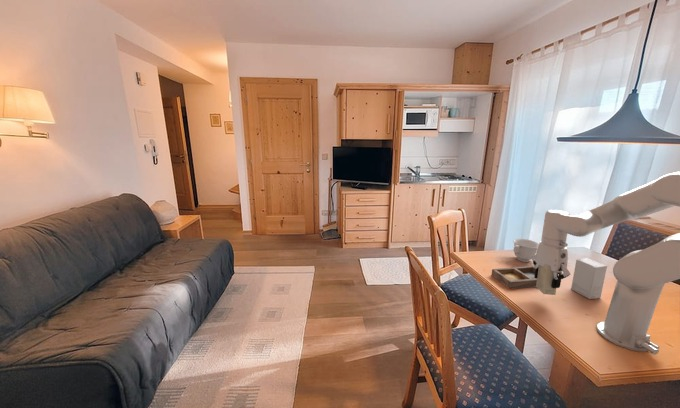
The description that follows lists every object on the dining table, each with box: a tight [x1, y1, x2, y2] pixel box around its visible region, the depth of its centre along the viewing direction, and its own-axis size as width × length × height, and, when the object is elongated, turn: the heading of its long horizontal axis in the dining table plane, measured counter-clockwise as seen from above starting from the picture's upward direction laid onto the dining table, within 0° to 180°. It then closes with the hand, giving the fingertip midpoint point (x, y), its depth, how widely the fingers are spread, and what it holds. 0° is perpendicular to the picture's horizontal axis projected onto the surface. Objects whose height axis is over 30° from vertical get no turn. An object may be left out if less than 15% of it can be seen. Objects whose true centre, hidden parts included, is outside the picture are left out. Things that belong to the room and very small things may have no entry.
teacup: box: [512, 238, 539, 263], centre depth 144 cm, size 12×15×10 cm
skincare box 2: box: [570, 257, 608, 300], centre depth 113 cm, size 8×6×15 cm
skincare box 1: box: [535, 264, 559, 296], centre depth 107 cm, size 6×4×12 cm
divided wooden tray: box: [491, 265, 537, 290], centre depth 126 cm, size 12×23×3 cm, turn 98°
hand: (546, 282), depth 108 cm, fingers closed on skincare box 1, 7 cm apart
